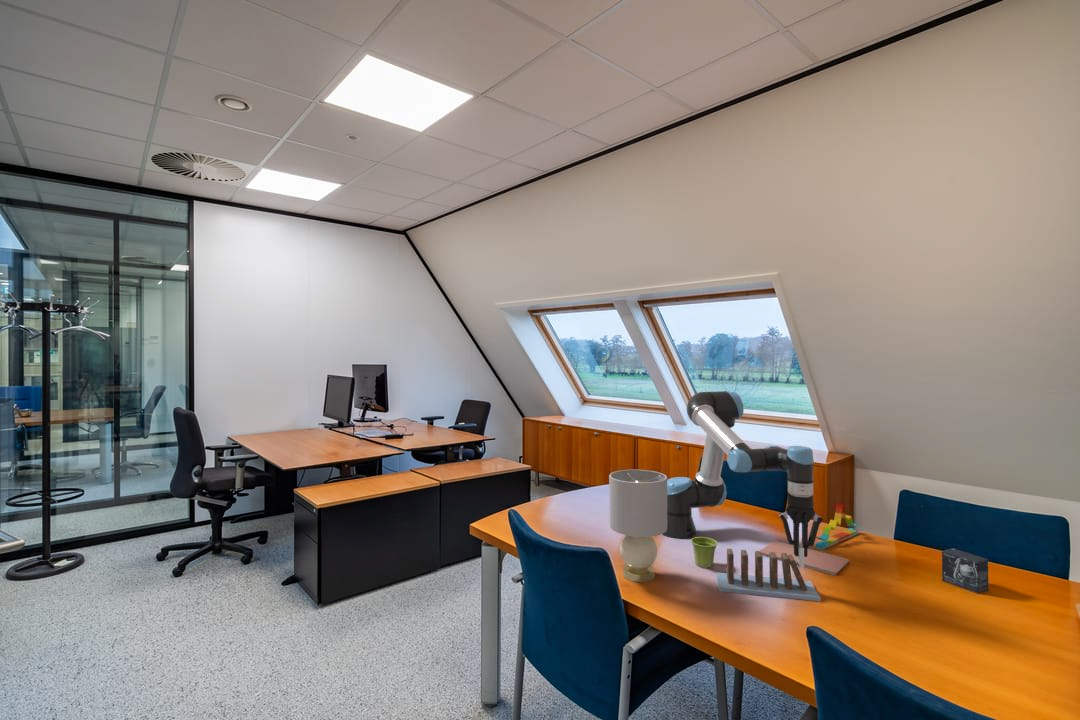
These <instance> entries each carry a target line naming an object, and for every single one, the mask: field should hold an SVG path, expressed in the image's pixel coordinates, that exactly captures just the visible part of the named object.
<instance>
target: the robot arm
mask: <svg viewBox="0 0 1080 720" xmlns="http://www.w3.org/2000/svg"><path fill="white" fill-rule="evenodd" d="M744 410H745V408H744V404H743V400H742V398H741V397H740V395H739V394H738V393H736V392H735V391H727V390H724V391H699V392H697V393H695V394H693V395H692V396H691V397H690V398H689V400H688V401H687V404H686V414H687V417H688V418H689V419H690V421H691V422H692V423H693V424H694V425H695V426H697V427H700V428H701V429H702V430H703V431H704V433H706V435H705V440H704V441H705V442H704V447H703V452H702V457H701V458H702V459H701V464H700V469H699V471H697V472H696V473H695V476H694V480H692V479H691V478H689V477H687V476H686V477H685V476H676V477H675V476H674V477H671V478H667V531H666V532H665V533H663V534H662V535H664V536H665V537H670V538H673V539H689V538H694V537H695V536H696V535H697V528H696V525H695V522H694V519H693V516H692V515H693V514H692V513H693V511H692V509H696V508H714V507H717V506H722V504H724V502H725V500H726V498H727V493H728V491H727V485H726V484H725V483H726V482H724V480H723V478H722V476H721V474H722V469H723V465H724V458H725V454H726V461H727V465H728V467H729V469H730V470H731V471H733V472H735V473H750V472H751V473H752V472H765V471H768V472H769V471H780V472H785V473H787V507H786V509H785V511H784V512H779V513H778V517H779V518H780V519H781V521H782V525H783V528H784V533H785V535H786V536H785V537H786V540H787V542H788V545H790V544H791V545H794V555H795V556H797V566H798V569H799V568H800V569H801V568H803V569H805V567H804V557H807V548H808V549H809V547H813V546H815V543H816V539H817V538H816V537H817V535H818V531H819V528H820V525H821V524H822V522H823V520H824V519H823V518H822V516H821V515H819V514H817V513H816V511H815V510H814V496H813V495H814V451H813V449H812V448H810V447H808V446H803V445H791V446H788V447H787V449H786V448H784V447H780V446H777V445H768V446H766V447H764V448H751V446H749V445H748V444H747V443H745V442H744V440H743V439H741V437H739V436H738V434H736V433H735V431H733V430H732V428H733V427H734V426H735V424H736V420H741V418H742V417H743V415H744ZM788 516H789V517H788ZM788 518H790V519H791V520H792V524H793V525H792V526H793V527H792V529H793V531H792V533H791V531H790V529H791V528H790V526H789V522H788ZM811 520H813V521H812V524H811V528H810V532H809V523H810V521H811ZM800 524H801V544H800ZM792 535H793V536H792Z"/></svg>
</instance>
